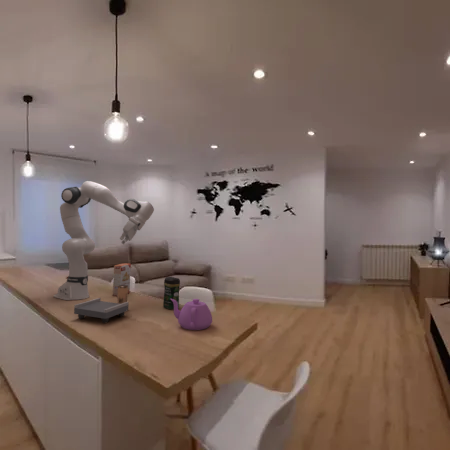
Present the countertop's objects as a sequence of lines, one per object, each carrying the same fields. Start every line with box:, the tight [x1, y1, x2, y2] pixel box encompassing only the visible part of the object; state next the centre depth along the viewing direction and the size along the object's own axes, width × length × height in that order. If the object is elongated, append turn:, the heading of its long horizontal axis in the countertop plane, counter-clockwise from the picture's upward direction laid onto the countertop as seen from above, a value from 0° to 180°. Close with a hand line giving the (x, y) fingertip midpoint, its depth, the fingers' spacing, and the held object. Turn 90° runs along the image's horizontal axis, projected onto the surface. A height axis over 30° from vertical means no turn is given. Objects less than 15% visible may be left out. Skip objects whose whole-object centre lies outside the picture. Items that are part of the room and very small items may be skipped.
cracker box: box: [112, 262, 132, 297], centre depth 233 cm, size 14×6×21 cm, turn 168°
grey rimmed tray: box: [73, 297, 129, 324], centre depth 177 cm, size 20×18×7 cm
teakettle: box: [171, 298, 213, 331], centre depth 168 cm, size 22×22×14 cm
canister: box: [116, 285, 129, 304], centre depth 193 cm, size 6×6×14 cm
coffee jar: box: [162, 276, 181, 310], centre depth 202 cm, size 10×8×19 cm
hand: (121, 241), depth 204 cm, fingers open, 8 cm apart
